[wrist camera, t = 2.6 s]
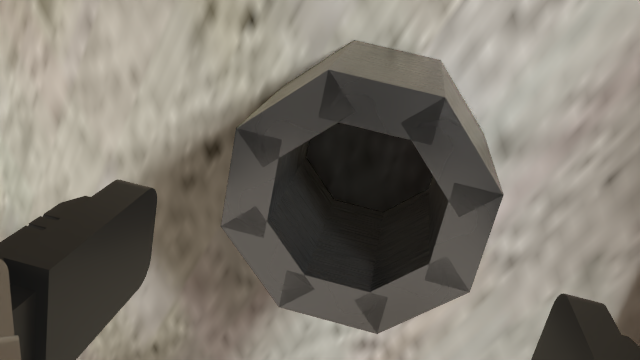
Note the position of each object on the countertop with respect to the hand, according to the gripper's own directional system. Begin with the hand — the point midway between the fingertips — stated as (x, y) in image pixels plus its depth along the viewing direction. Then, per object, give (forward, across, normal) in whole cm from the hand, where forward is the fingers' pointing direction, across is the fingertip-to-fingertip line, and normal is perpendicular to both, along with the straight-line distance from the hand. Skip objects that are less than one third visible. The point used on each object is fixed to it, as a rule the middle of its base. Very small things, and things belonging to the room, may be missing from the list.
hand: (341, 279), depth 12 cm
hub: (+8, 0, 0) cm, 8 cm away
